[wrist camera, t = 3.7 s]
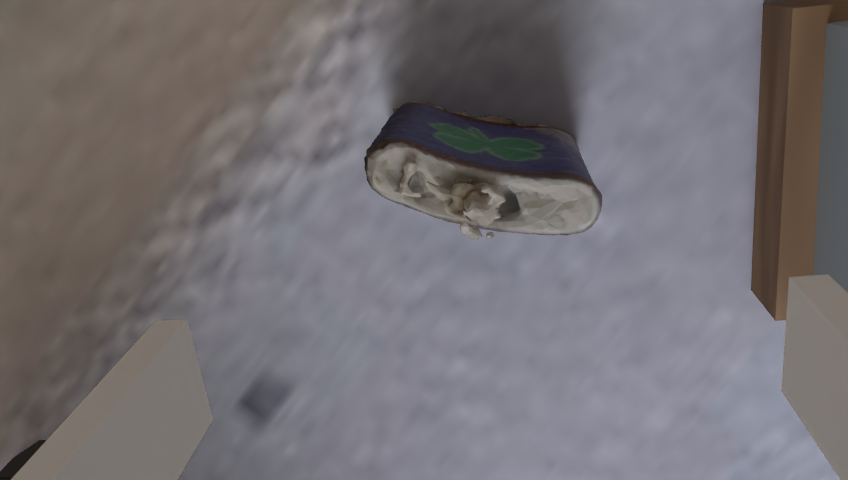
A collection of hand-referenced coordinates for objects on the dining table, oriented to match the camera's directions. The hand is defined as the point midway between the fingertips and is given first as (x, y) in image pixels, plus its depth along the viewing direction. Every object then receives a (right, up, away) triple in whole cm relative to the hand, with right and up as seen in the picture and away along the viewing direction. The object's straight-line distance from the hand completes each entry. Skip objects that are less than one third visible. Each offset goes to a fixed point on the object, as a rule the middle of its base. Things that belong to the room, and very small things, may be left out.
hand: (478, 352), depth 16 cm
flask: (+2, +7, +20) cm, 21 cm away
